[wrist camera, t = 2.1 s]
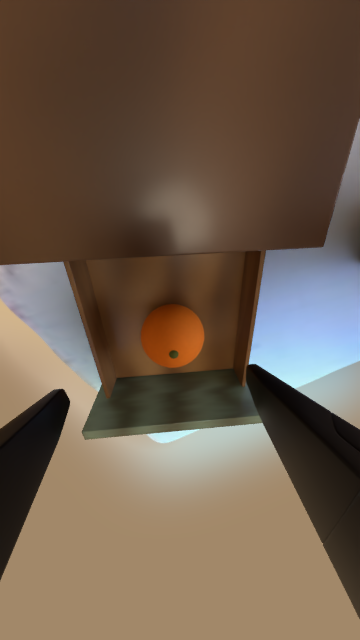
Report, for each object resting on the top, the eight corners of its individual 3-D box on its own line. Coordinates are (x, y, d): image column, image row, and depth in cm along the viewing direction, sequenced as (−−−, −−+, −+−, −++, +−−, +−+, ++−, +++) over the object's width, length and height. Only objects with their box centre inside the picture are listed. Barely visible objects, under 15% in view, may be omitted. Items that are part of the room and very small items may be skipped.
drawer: (260, 236, 18) (319, 239, 11) (240, 379, 26) (267, 432, 19) (67, 246, 17) (1, 256, 10) (110, 390, 25) (89, 449, 18)
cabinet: (294, -57, 11) (613, -777, 3) (256, 240, 19) (324, 247, 11) (-16, -61, 11) (-607, -1009, 2) (73, 250, 18) (-3, 265, 10)
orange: (198, 293, 19) (212, 320, 13) (198, 342, 22) (210, 381, 16) (140, 297, 19) (129, 326, 13) (148, 346, 21) (141, 387, 16)
